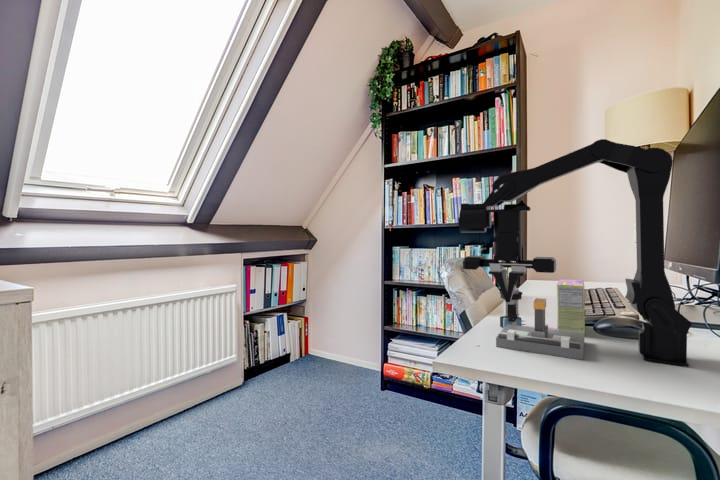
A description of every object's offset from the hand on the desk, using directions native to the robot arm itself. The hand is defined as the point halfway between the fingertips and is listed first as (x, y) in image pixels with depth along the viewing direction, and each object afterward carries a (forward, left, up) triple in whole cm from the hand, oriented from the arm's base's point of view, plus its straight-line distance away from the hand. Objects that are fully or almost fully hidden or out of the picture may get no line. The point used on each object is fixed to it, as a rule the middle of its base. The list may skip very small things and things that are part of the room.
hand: (508, 301), depth 82 cm
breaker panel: (-6, -1, -9) cm, 11 cm away
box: (-11, -16, -9) cm, 22 cm away
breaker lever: (-6, 0, -6) cm, 9 cm away
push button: (+1, -12, -9) cm, 16 cm away
